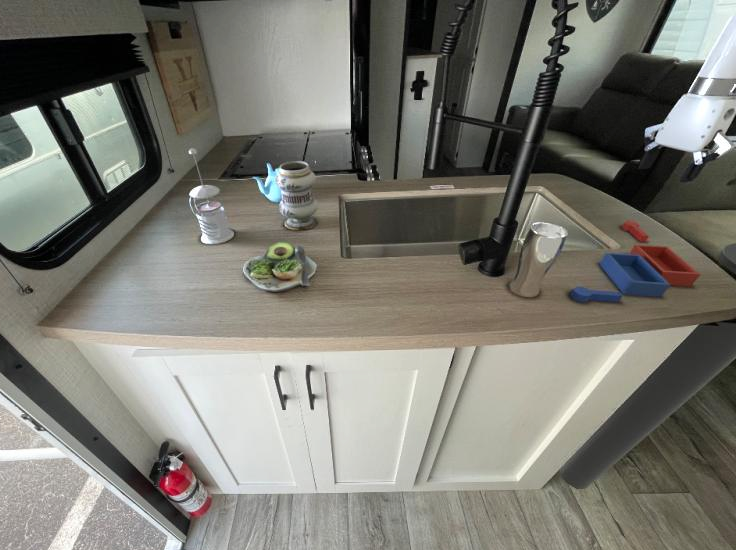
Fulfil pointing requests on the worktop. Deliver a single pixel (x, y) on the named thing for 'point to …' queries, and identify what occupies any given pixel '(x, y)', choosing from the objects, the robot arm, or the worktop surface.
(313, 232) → the worktop surface
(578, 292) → the blue spoon
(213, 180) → the worktop surface
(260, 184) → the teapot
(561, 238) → the beer glass
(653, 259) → the red bin
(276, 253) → the salad plate
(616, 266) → the blue bin
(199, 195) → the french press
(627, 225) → the red spoon
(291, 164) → the apothecary jar
